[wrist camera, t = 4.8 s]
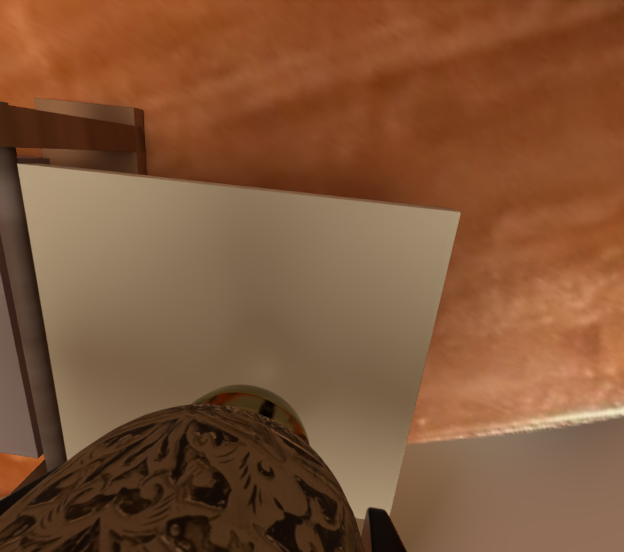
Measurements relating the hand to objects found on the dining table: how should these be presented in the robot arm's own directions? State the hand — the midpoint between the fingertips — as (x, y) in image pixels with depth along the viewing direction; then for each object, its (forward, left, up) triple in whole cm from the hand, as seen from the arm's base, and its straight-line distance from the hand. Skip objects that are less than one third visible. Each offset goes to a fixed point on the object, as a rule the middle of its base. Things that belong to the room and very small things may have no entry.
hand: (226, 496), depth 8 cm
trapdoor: (+6, 0, -8) cm, 10 cm away
